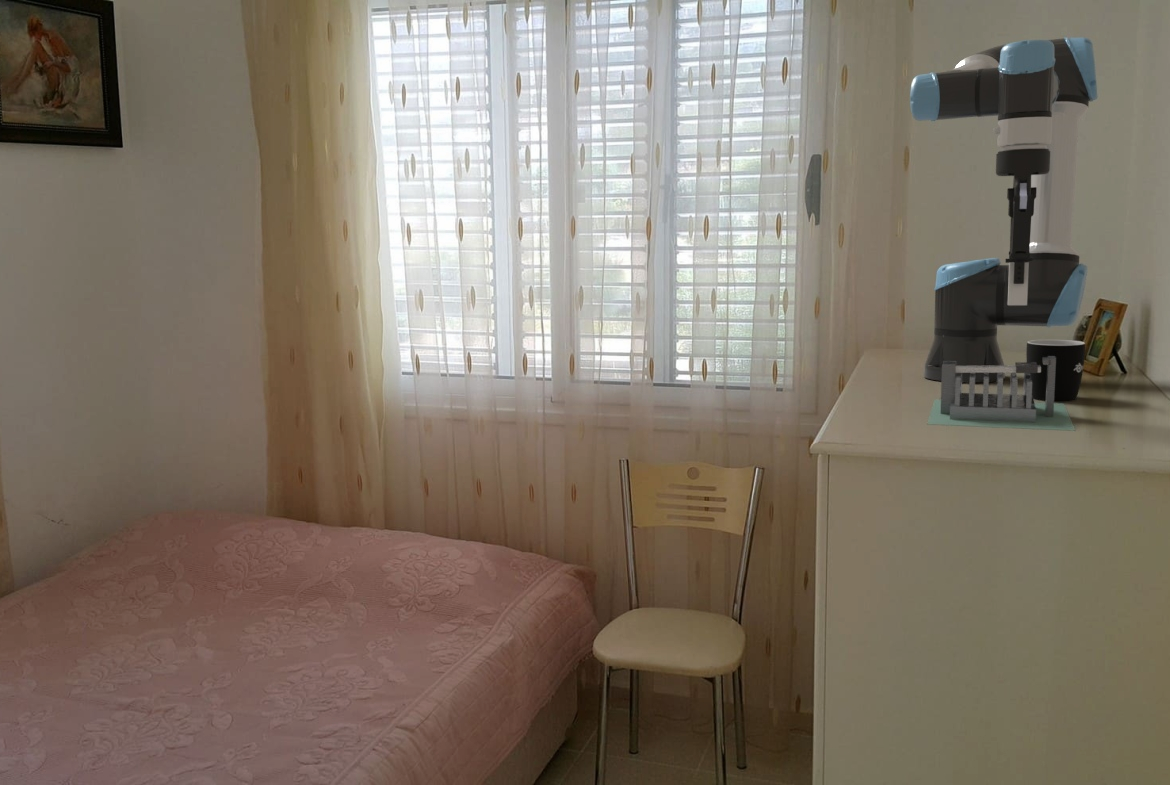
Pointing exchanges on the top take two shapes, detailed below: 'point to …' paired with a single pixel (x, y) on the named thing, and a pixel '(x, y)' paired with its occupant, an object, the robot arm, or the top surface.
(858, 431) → the top surface
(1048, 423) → the board
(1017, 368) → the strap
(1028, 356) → the mug
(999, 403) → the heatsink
